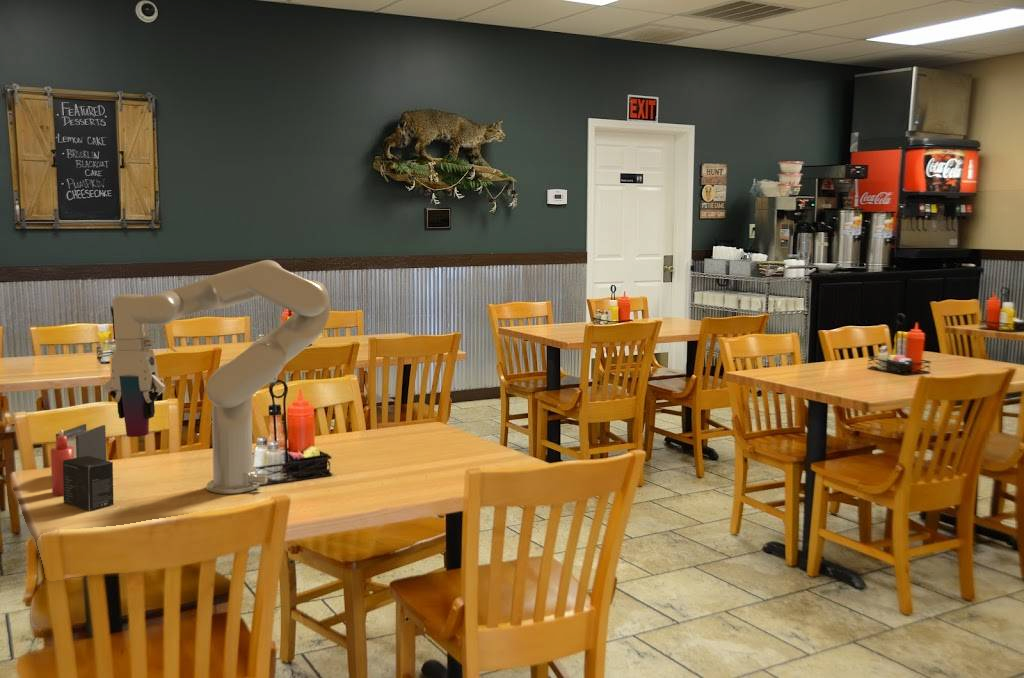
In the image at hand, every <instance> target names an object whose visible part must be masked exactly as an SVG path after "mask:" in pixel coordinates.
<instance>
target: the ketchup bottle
mask: <svg viewBox="0 0 1024 678" xmlns="http://www.w3.org/2000/svg"><path fill="white" fill-rule="evenodd" d="M63 431H64V430H63V429H59V431H58V433H60V436H57V437H56V436H55V445H56V446H55V447H52V448H50V467H51V468H50V472H51V491H52V492H51V493H52V494H51V495H52V496H53V495H54V496H58V497H59V496H64V482H63V460H68V459H73V458H74V448H73V447H71V446H67V436H63Z"/></svg>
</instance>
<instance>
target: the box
mask: <svg viewBox="0 0 1024 678" xmlns="http://www.w3.org/2000/svg"><path fill="white" fill-rule="evenodd" d="M106 460H107V459H106ZM106 460H102V459H98V458H94V457H90V456H84V457H79V458H73V459H68V460H63V482H64V495H63V503H64V504H66V505H69V506H73V507H75V508H78V509H83V510H85V511H90V512H91V511H94V510H98V509H102V508H105V507H109V506H113V505H114V470H113V469H114V468H113V467H114V466H113V465H114V462H113V461H111V460H110V461H109V460H107V461H106Z"/></svg>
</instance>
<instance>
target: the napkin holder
mask: <svg viewBox="0 0 1024 678" xmlns="http://www.w3.org/2000/svg"><path fill="white" fill-rule="evenodd" d="M106 433H107V432H106V425H105V424H102V425H99V426H97V427H94V428H91V429H88V430H87V424H86V423H83V424H80V425H78V426H75V427H72V428H69V429H67V430H63V436H67V446H71V447H73V448H74V458H79V457H84V456H90V457H94V458H98V459H102V460H106V461H108V460H107V436H106ZM57 436H60V432H58V433H55V438H56V437H57Z"/></svg>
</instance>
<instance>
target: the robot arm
mask: <svg viewBox="0 0 1024 678" xmlns="http://www.w3.org/2000/svg"><path fill="white" fill-rule="evenodd" d="M259 298H263V299H265V300H267V301H269V302H271V303H273V304H276V305H277V306H280V307H282V308H284V309H287V310H289V311H291V312H293V313H292V314H291V315H290V316H289V317H288V318H287V319H286V320H285V321H283V322H282V323H281V324H279V325H278V326H277V327H275V328H274V329H273V330H271V331H270V332H269V333H267V334H265V335H264V336H263V337H261V338H260V339H257V340H256V341H254V342H253V343H252V344H251V345H250V346H249V347H248V348H247V349H246V350H244V351H242V353H240V354H239V355H237V356H236V357H235V358H233V359H232V360H231V361H229V362H227V363H224V364H222V365H220V366H219V367H218V368H216V369H215V370H214V372H213V373H212V374H211V376H210V377H209V378H208V381H207V382H206V390H205V391H206V396H207V397H208V399H209V401H210V402H211V403H212V407H211V410H212V412H211V415H212V416H211V420H212V422H211V423H212V424H211V425H212V437H211V438H212V467H213V468H212V475H213V476H212V478H213V479H212V480H209V482H207V483H206V489H207V490H208V491H210V492H211V493H215V494H225V495H226V494H231V495H233V494H240V493H241V494H242V493H246V492H250V491H253V490H255V489H257V488H258V487H259V486H260V484H267V483H268V480H269V479H268V478H269V477H268V475H267V473H258V472H257V467H255V466H253V464H254V463H253V461H254V460H253V395H254V394H256V393H257V392H259V391H260V390H262V388H264V387H265V386H267V385H268V384H270V383H271V382H272V381H273V380H275V379H276V378H277V377H278V376H279V375H280V374H281V372H282V371H283V369H284V367H285V366H286V365H287V363H289V362H290V361H292V359H294V358H295V357H296V356H298V355H299V354H301V352H303V351H304V350H305V349H307V348H308V347H309V346H310V345H312V343H314V342H315V341H316V339H318V338H319V337H320V335H322V334H323V332H324V329H325V328H326V326H327V324H328V322H329V318H330V314H331V313H330V312H331V304H330V302H331V301H330V296H329V292H328V290H327V288H326V286H325V285H324V284H323V283H322V282H320V281H318V280H314V279H306V278H304V277H302V276H299V275H298V274H295V273H292V272H291V271H289V270H286V269H284V268H283V267H282V266H281V265H280V264H279V263H278V262H276V261H275V260H273V259H272V260H271V259H265V260H260V261H258V262H257V261H256V262H253V263H250V264H245V265H244V266H240V267H237V268H233V269H230V270H226V271H223V272H220V273H216V274H215V273H214V274H213V275H210V276H208V277H206V278H203V279H201V280H198V281H196V282H192V283H190V284H187V285H181V286H178V287H176V288H172V289H169V290H164V291H162V292H159V293H155V294H150V295H144V294H140V293H124V294H118V295H116V296H115V297H113V301H112V304H113V305H112V308H113V325H114V326H113V327H114V339H115V340H114V341H115V342H114V343H115V344H114V345H115V350H113V353H112V358H111V359H112V361H111V378H110V379H109V380H108V381H107V382H106V384H105V385H104V386H103V388H104V389H105V391H106V392H108V393H109V395H110V396H111V397H112V398H113V399H114V402H115V403H117V404H116V405H117V414H118V418H119V419H124V411H123V403H122V395H121V386H120V377H119V376H122V377H136V376H139V387H140V391H142V392H144V393H143V395H144V398H145V400H146V403H144V413H145V419H149V420H150V419H152V418H154V417H155V413H156V412H155V411H156V410H155V408H156V407H155V401H157V399H158V398H159V397H160V395H161V394H162V393H163V392H164V391H165V390H166V389H167V387H166V385H165V384H164V383H163V382H162V381H161V380H160V378H159V372H158V366H157V365H158V364H157V360H156V356H155V353H154V349H150V348H151V347H154V344H155V341H154V340H150V337H149V325H158V326H160V325H161V326H166V325H168V324H170V323H173V322H174V321H175V320H178V319H182V318H185V317H189V316H191V315H194V314H199V313H201V312H205V311H209V310H218V309H219V310H221V309H226V308H230V307H233V306H236V305H238V304H242V303H246V302H249V301H252V300H256V299H259ZM148 392H149V393H148Z"/></svg>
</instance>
